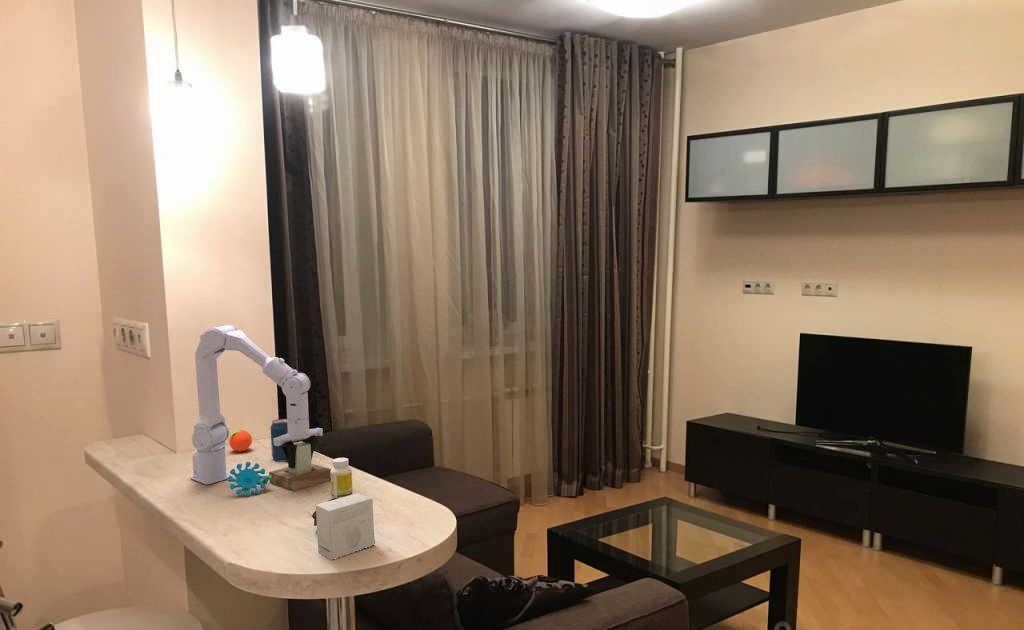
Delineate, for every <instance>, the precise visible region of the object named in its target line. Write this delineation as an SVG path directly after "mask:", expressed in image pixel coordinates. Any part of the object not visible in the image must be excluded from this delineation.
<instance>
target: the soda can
mask: <svg viewBox="0 0 1024 630" xmlns="http://www.w3.org/2000/svg"><path fill="white" fill-rule="evenodd" d="M287 433H288V425H287V418H280V419H279V418H278V419H274V420H272V421H271V425H270V444H271V449H270V450H271V457H272V459H274V461H276V462H285V461H287V459H286V457H285V454H284V452H283V451H282V449H281V448H280V446H275V445H274V439H273V438H276V437H279V436H282V435H285V434H287ZM292 443H296V441H294V442H292Z"/></svg>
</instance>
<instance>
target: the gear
mask: <svg viewBox="0 0 1024 630" xmlns="http://www.w3.org/2000/svg"><path fill="white" fill-rule="evenodd" d="M251 464H252V462H250V461H246V462H245V467H244V469H242V467H243V464H242V463H237V464H236V469H237V470H238V473H236V469H235V468H232V469H230V470H229V475H231V476H229V477H228V479H227V482H228V483H230V485H229V489H230V490H234V489H236V488H238V489H236V490H235V494H236V495H238V496H240V495H241V494H242V492H243V491H245V492H244V496H245V497H250V496H251V490H252V489H254V491H253V494H254V495H258V494H260V489H261V490H263V489H265V488H266V486H267V485H268V483H269V480H271V478H272V475H269V474H268V475H265V474H266V469H265V468H261V469H259V468H260V464H259V463H257V462H256V463H255V464H254V466H252V467H251ZM250 467H251V468H250ZM260 474H261V475H260ZM232 476H233V477H232ZM234 477H235V478H234ZM235 483H236V484H235ZM258 486H259V487H260V489H259V488H258ZM246 490H247V491H246Z"/></svg>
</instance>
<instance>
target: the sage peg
mask: <svg viewBox="0 0 1024 630" xmlns="http://www.w3.org/2000/svg"><path fill="white" fill-rule="evenodd" d="M294 445H297V448H296V455H295V462H296V464H295V468H294V469H292V468H289V466H288V465H287V467H288V473H290V474H293V475H301V474H304V473H308V472H311V471H312V467H311V463H312V460H311V444H309V443H305V442H302V441H298V442H297V441H296V442H295V443H294Z"/></svg>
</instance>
